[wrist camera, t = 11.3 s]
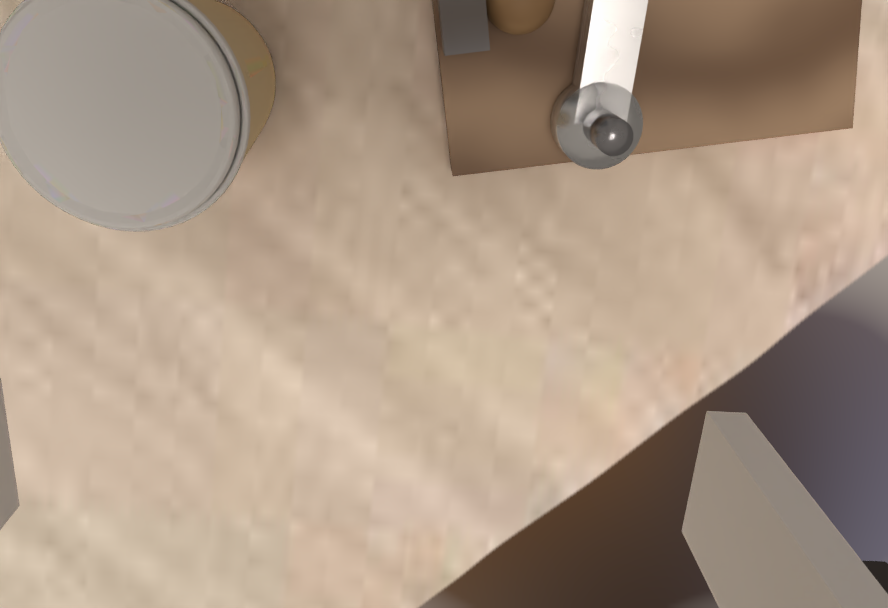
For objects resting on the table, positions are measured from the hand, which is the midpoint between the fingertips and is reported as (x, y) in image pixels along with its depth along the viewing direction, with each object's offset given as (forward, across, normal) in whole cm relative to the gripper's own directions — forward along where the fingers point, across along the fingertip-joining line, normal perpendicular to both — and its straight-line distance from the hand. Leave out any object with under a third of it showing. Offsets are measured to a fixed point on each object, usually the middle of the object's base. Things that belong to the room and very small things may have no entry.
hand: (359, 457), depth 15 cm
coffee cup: (+29, -10, +4) cm, 31 cm away
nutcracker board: (+28, +10, +14) cm, 33 cm away
